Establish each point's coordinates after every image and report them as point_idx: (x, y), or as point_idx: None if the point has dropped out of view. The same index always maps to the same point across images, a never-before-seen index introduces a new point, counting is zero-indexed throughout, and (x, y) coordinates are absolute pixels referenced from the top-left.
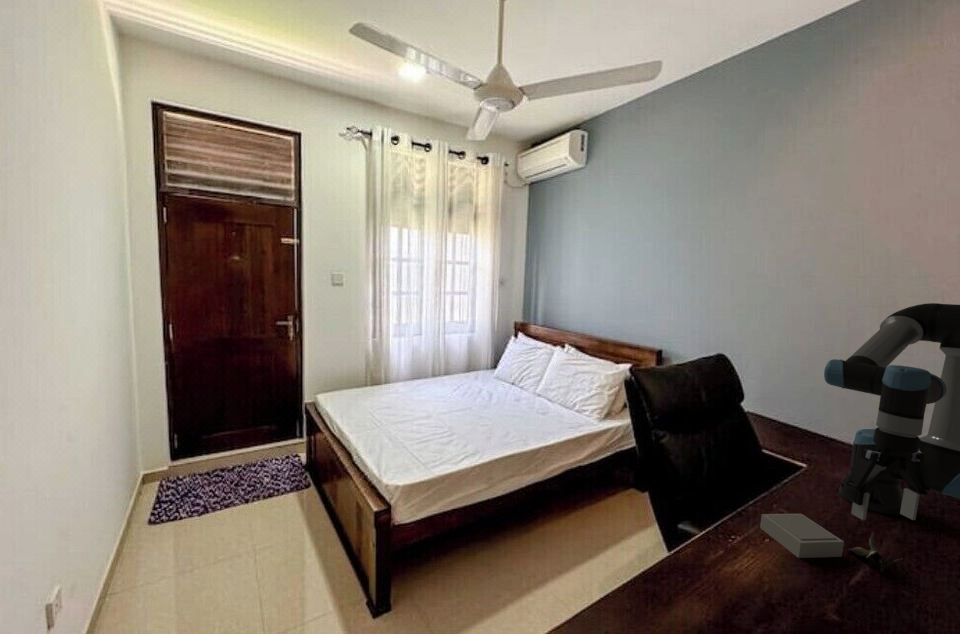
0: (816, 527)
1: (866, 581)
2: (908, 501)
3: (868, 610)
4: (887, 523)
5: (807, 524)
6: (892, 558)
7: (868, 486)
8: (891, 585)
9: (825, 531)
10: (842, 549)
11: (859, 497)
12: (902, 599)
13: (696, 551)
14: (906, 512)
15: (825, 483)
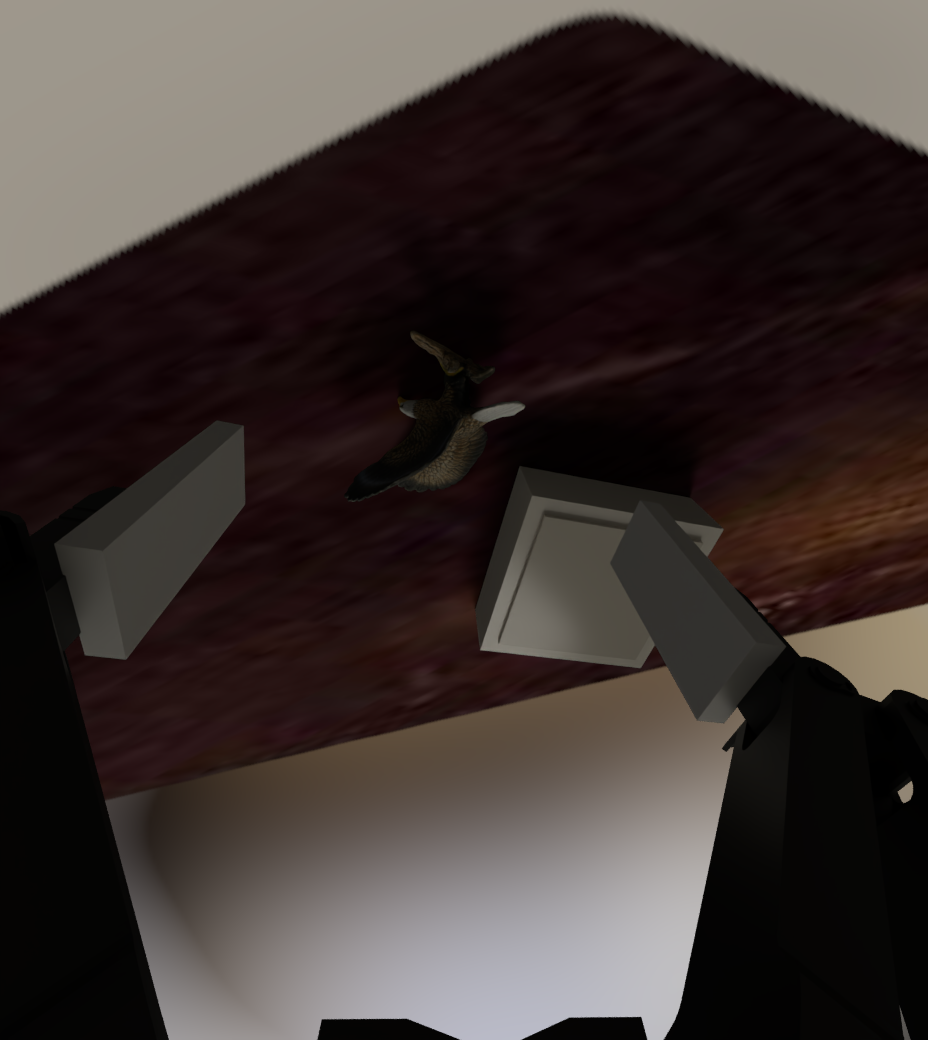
0: (542, 580)
1: (606, 340)
2: (182, 536)
3: (824, 219)
4: None
5: (554, 599)
6: (450, 356)
7: (833, 721)
8: (531, 291)
9: (536, 555)
10: (526, 479)
11: (775, 632)
12: (599, 214)
13: None
14: (232, 483)
15: None
